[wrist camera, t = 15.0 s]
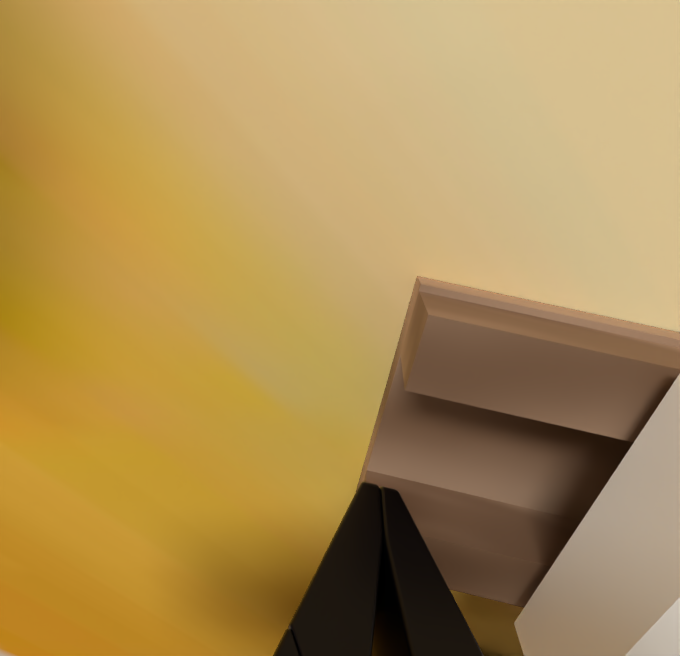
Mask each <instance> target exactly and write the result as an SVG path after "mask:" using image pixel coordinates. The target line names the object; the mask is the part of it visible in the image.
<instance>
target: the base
mask: <svg viewBox="0 0 680 656" xmlns="http://www.w3.org/2000/svg"><path fill="white" fill-rule="evenodd" d="M679 374H680V332H675V331H670V330H666V329H661V328H656V327H652V326H647V325H642V324H638V323H633V322H628V321H624V320H619V319H614V318H610V317H605V316H600V315H596V314H591V313H586V312H582V311H577V310H572V309H568V308H563V307H558V306H554V305H549V304H544V303H540V302H535V301H530V300H526V299H521V298H516V297H512V296H507V295H502V294H498V293H493V292H488V291H484V290H479V289H474V288H470V287H465V286H460V285H456V284H451V283H447V282H442V281H437V280H433V279H428V278H423V277H419V276H417V279H416V282H415V286H414V289H413V293H412V296H411V300H410V303H409V307H408V310H407V314H406V317H405V321H404V325H403V328H402V332H401V335H400V339H399V342H398V346H397V349H396V353H395V356H394V360H393V363H392V367H391V370H390V374H389V377H388V381H387V384H386V388H385V391H384V395H383V398H382V402H381V405H380V409H379V412H378V416H377V419H376V423H375V426H374V430H373V434H372V437H371V441H370V444H369V448H368V451H367V455H366V458H365V462H364V465H363V469H362V472H361V476H360V479H359V483H358V486H357V490H358V488H359V486H360V484H361V482H363V481H365V482H369V483H373V484H377V485H378V486H379V488H380V487H381V486H385V487H388V488H392V489H396V490H397V491H398V492H399V493H400V495H401V497H402V499H403V501H404V502H405V504H406V506H407V508H408V510H409V512H410V514H411V516H412V518H413V520H414V522H415V524H416V526H417V528H418V530H419V532H420V533H421V535H422V537H423V539H424V541H425V543H426V545H427V547H428V549H429V551H430V553H431V555H432V557H433V559H434V561H435V562H436V564H437V566H438V568H439V570H440V572H441V574H442V576H443V578H444V580H445V582H446V584H447V586H448V588H449V589H451V590H455V591H459V592H463V593H467V594H471V595H475V596H479V597H483V598H487V599H492V600H496V601H500V602H504V603H508V604H512V605H516V606H520V607H525V606H526V604H527V603H528V601H529V600H530V598H531V597H532V595H533V594H534V592H535V591H536V589H537V588H538V586H539V585H540V583H541V582H542V580H543V579H544V577H545V576H546V574H547V573H548V571H549V569H550V568H551V566H552V565H553V563H554V562H555V560H556V559H557V557H558V556H559V554H560V553H561V551H562V550H563V548H564V547H565V545H566V544H567V542H568V541H569V539H570V538H571V536H572V535H573V533H574V532H575V530H576V529H577V527H578V526H579V524H580V523H581V521H582V520H583V518H584V517H585V515H586V514H587V512H588V511H589V509H590V508H591V506H592V505H593V503H594V502H595V500H596V499H597V497H598V496H599V494H600V493H601V491H602V490H603V488H604V487H605V485H606V484H607V482H608V481H609V479H610V478H611V476H612V475H613V473H614V472H615V470H616V469H617V467H618V466H619V464H620V463H621V461H622V460H623V458H624V457H625V455H626V454H627V452H628V451H629V449H630V448H631V446H632V445H633V443H634V442H635V440H636V439H637V437H638V436H639V434H640V433H641V431H642V430H643V428H644V427H645V425H646V424H647V422H648V421H649V419H650V417H651V416H652V414H653V413H654V411H655V410H656V408H657V407H658V405H659V404H660V402H661V401H662V399H663V398H664V396H665V395H666V393H667V392H668V390H669V389H670V387H671V386H672V384H673V383H674V381H675V380H676V378H677V377H678V375H679ZM357 490H356V492H357Z"/></svg>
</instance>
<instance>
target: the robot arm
mask: <svg viewBox="0 0 680 656" xmlns="http://www.w3.org/2000/svg"><path fill="white" fill-rule="evenodd" d="M273 656H484V655H483V653H482V651H481V650H480V648H479V646H478V644H477V642H476V640H475V638H474V636H473V634H472V632H471V630H470V628H469V626H468V624H467V622H466V621H465V619H464V617H463V615H462V613H461V611H460V609H459V607H458V605H457V603H456V601H455V599H454V597H453V595H452V593H451V591H450V590H449V588H448V586H447V584H446V582H445V580H444V578H443V576H442V574H441V572H440V570H439V568H438V566H437V564H436V562H435V561H434V559H433V557H432V555H431V553H430V551H429V549H428V547H427V545H426V543H425V541H424V539H423V537H422V535H421V533H420V532H419V530H418V528H417V526H416V524H415V522H414V520H413V518H412V516H411V514H410V512H409V510H408V508H407V506H406V504H405V502H404V501H403V499H402V497H401V495H400V493H399V492H398V491H397V490H396V489H392V488H388V487H385V486H381V487H380V488H379V486H378V485H377V484H373V483H369V482H365V481H363V482H361V484H360V486H359V488H358V490H357V492H356V494H355V496H354V498H353V500H352V501H351V503H350V505H349V507H348V509H347V511H346V513H345V515H344V517H343V519H342V521H341V523H340V525H339V527H338V529H337V531H336V533H335V535H334V537H333V539H332V541H331V543H330V545H329V547H328V549H327V551H326V553H325V555H324V557H323V559H322V561H321V563H320V565H319V567H318V569H317V571H316V572H315V574H314V576H313V578H312V580H311V582H310V584H309V586H308V588H307V590H306V592H305V594H304V596H303V598H302V600H301V602H300V604H299V606H298V608H297V610H296V612H295V614H294V616H293V618H292V620H291V622H290V624H289V627H288V629H287V630H286V631H285V633H284V635H283V637H282V639H281V641H280V643H279V645H278V647H277V649H276V651H275V653H274V655H273Z"/></svg>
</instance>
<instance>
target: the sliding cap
mask: <svg viewBox="0 0 680 656" xmlns="http://www.w3.org/2000/svg"><path fill="white" fill-rule="evenodd" d="M514 625H515V629H516V632H517V635H518V638H519V641H520V645H521V648H522V651H523V654H524V656H680V374H679V375H678V377H677V378H676V380H675V381H674V383H673V384H672V386H671V387H670V389H669V390H668V392H667V393H666V395H665V396H664V398H663V399H662V401H661V402H660V404H659V405H658V407H657V408H656V410H655V411H654V413H653V414H652V416H651V417H650V419H649V421H648V422H647V424H646V425H645V427H644V428H643V430H642V431H641V433H640V434H639V436H638V437H637V439H636V440H635V442H634V443H633V445H632V446H631V448H630V449H629V451H628V452H627V454H626V455H625V457H624V458H623V460H622V461H621V463H620V464H619V466H618V467H617V469H616V470H615V472H614V473H613V475H612V476H611V478H610V479H609V481H608V482H607V484H606V485H605V487H604V488H603V490H602V491H601V493H600V494H599V496H598V497H597V499H596V500H595V502H594V503H593V505H592V506H591V508H590V509H589V511H588V512H587V514H586V515H585V517H584V518H583V520H582V521H581V523H580V524H579V526H578V527H577V529H576V530H575V532H574V533H573V535H572V536H571V538H570V539H569V541H568V542H567V544H566V545H565V547H564V548H563V550H562V551H561V553H560V554H559V556H558V557H557V559H556V560H555V562H554V563H553V565H552V566H551V568H550V569H549V571H548V573H547V574H546V576H545V577H544V579H543V580H542V582H541V583H540V585H539V586H538V588H537V589H536V591H535V592H534V594H533V595H532V597H531V598H530V600H529V601H528V603H527V604H526V606H525V607H524V609H523V610H522V612H521V613H520V615H519V616H518V618H517V619H516V621H515V622H514Z"/></svg>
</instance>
